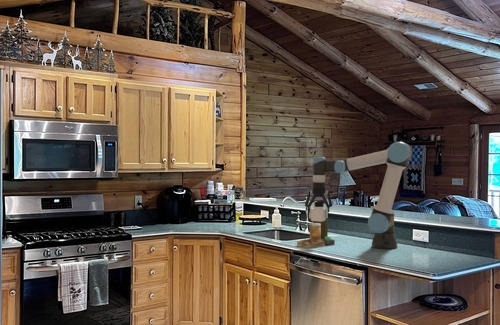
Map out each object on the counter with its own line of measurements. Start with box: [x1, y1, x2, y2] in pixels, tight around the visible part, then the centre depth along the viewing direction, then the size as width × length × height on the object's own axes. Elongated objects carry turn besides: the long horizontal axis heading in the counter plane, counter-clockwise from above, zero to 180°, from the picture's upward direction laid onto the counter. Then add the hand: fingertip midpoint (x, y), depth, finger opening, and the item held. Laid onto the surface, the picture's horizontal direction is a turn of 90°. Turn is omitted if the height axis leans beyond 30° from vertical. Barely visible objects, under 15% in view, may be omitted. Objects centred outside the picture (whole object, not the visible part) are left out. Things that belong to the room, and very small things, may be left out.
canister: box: [312, 218, 329, 240], centre depth 334 cm, size 11×10×20 cm
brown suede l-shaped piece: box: [296, 222, 335, 249], centre depth 307 cm, size 16×21×12 cm
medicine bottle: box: [310, 200, 326, 222], centre depth 301 cm, size 7×7×12 cm
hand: (318, 218), depth 301 cm, fingers closed on medicine bottle, 10 cm apart
